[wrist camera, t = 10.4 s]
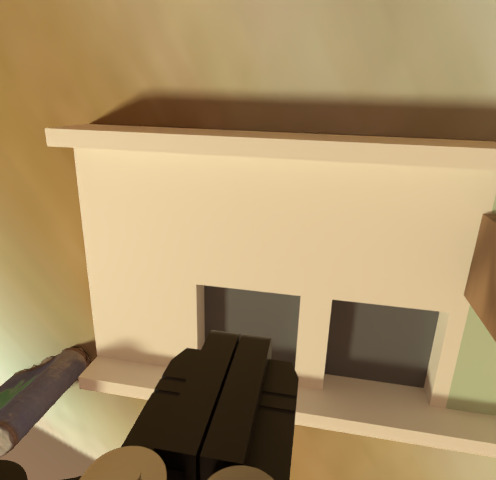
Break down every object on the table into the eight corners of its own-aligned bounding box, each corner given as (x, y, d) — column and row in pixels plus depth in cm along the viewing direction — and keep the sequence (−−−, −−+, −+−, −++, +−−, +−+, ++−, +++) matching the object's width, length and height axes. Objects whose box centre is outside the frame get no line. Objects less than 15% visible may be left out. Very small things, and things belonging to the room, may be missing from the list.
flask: (79, 341, 33) (-27, 443, 23) (99, 369, 34) (3, 480, 24) (6, 375, 36) (-117, 479, 26) (25, 400, 37) (-87, 511, 27)
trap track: (88, 123, 27) (44, 128, 23) (634, 147, 22) (707, 158, 17) (111, 352, 33) (79, 388, 29) (544, 415, 28) (582, 471, 23)
